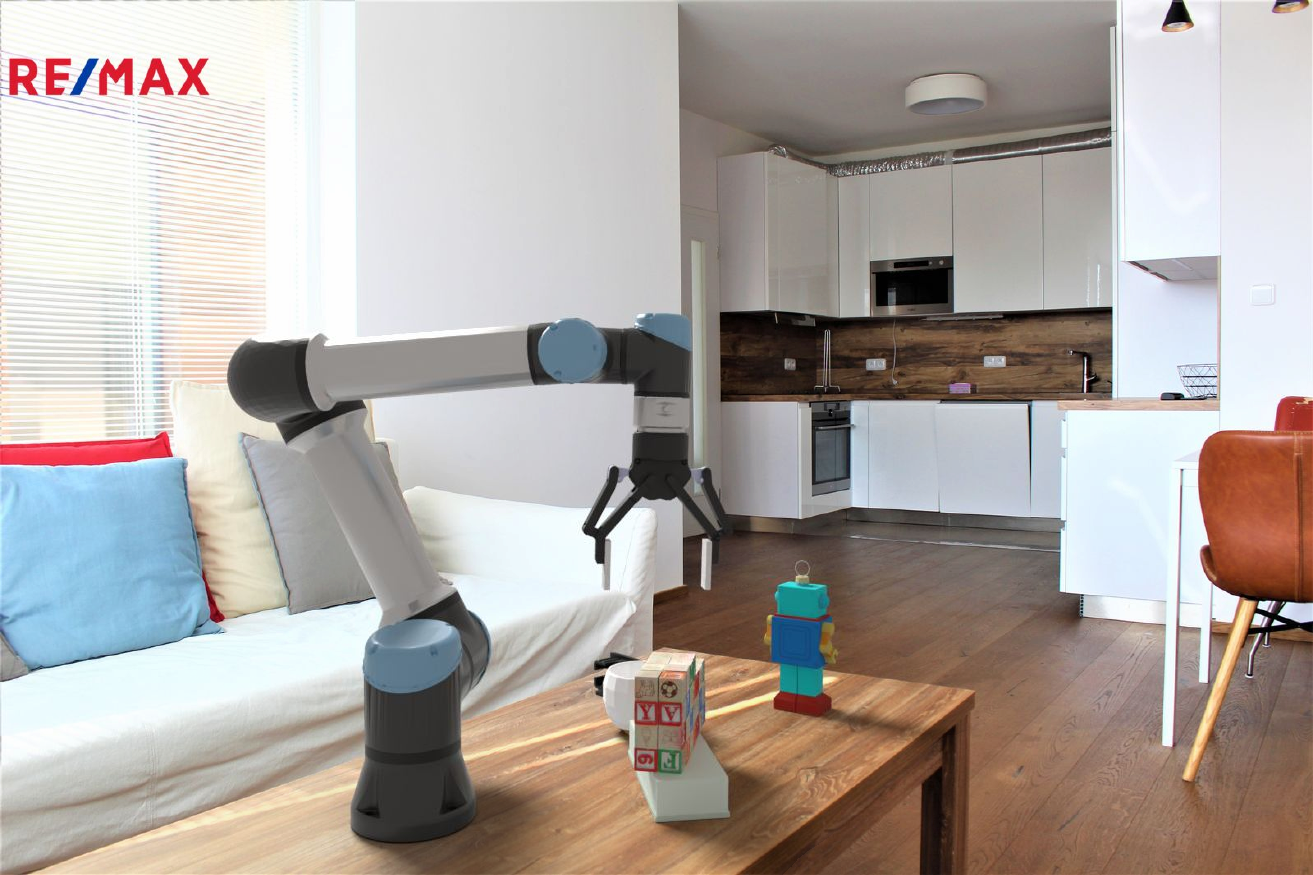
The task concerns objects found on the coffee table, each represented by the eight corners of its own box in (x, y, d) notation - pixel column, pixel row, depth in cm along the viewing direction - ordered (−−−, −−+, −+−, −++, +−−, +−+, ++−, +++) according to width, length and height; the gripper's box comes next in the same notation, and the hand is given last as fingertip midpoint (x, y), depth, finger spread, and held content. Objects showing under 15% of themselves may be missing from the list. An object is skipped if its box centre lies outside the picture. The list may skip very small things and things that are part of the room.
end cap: (660, 698, 178) (660, 660, 178) (629, 707, 174) (629, 667, 173) (623, 686, 186) (623, 649, 185) (592, 694, 181) (592, 655, 181)
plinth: (655, 822, 127) (655, 782, 126) (627, 753, 151) (627, 719, 150) (729, 817, 128) (730, 777, 128) (690, 750, 152) (691, 716, 152)
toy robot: (841, 710, 172) (842, 560, 171) (826, 719, 167) (828, 566, 166) (778, 698, 178) (779, 554, 177) (762, 707, 173) (763, 559, 172)
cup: (662, 714, 169) (663, 656, 169) (695, 738, 158) (695, 675, 157) (592, 724, 164) (592, 664, 164) (620, 748, 153) (620, 684, 152)
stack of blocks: (663, 718, 151) (663, 635, 150) (705, 721, 150) (706, 637, 149) (633, 771, 130) (633, 674, 129) (682, 775, 129) (683, 677, 128)
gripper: (569, 429, 132) (565, 594, 133) (758, 433, 136) (753, 593, 137) (565, 426, 139) (561, 583, 140) (744, 431, 143) (739, 582, 144)
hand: (656, 588), depth 138 cm, fingers open, 13 cm apart
